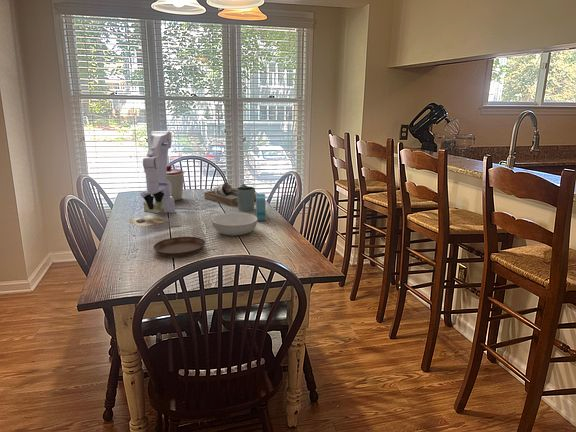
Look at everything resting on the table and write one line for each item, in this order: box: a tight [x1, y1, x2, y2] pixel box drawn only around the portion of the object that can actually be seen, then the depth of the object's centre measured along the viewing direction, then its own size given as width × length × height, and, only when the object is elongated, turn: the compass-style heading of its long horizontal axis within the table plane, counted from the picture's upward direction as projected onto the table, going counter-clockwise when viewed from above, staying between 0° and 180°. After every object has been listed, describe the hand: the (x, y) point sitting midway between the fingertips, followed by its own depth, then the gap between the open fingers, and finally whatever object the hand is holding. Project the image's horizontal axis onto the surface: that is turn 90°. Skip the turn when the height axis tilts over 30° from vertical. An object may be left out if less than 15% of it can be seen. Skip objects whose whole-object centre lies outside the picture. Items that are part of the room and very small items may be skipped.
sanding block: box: [143, 200, 164, 215], centre depth 217 cm, size 4×9×5 cm, turn 61°
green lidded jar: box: [236, 186, 256, 212], centre depth 240 cm, size 10×10×12 cm
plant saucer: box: [153, 236, 206, 259], centre depth 178 cm, size 21×21×3 cm
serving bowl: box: [211, 212, 258, 236], centre depth 200 cm, size 21×21×7 cm
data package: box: [255, 193, 267, 222], centre depth 222 cm, size 12×4×12 cm, turn 4°
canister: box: [166, 164, 185, 202], centre depth 262 cm, size 18×18×21 cm
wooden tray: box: [203, 188, 257, 207], centre depth 264 cm, size 19×27×4 cm
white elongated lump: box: [213, 182, 249, 197], centre depth 264 cm, size 25×10×10 cm, turn 72°
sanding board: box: [125, 213, 170, 228], centre depth 216 cm, size 15×17×2 cm
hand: (154, 208), depth 217 cm, fingers closed on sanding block, 4 cm apart
